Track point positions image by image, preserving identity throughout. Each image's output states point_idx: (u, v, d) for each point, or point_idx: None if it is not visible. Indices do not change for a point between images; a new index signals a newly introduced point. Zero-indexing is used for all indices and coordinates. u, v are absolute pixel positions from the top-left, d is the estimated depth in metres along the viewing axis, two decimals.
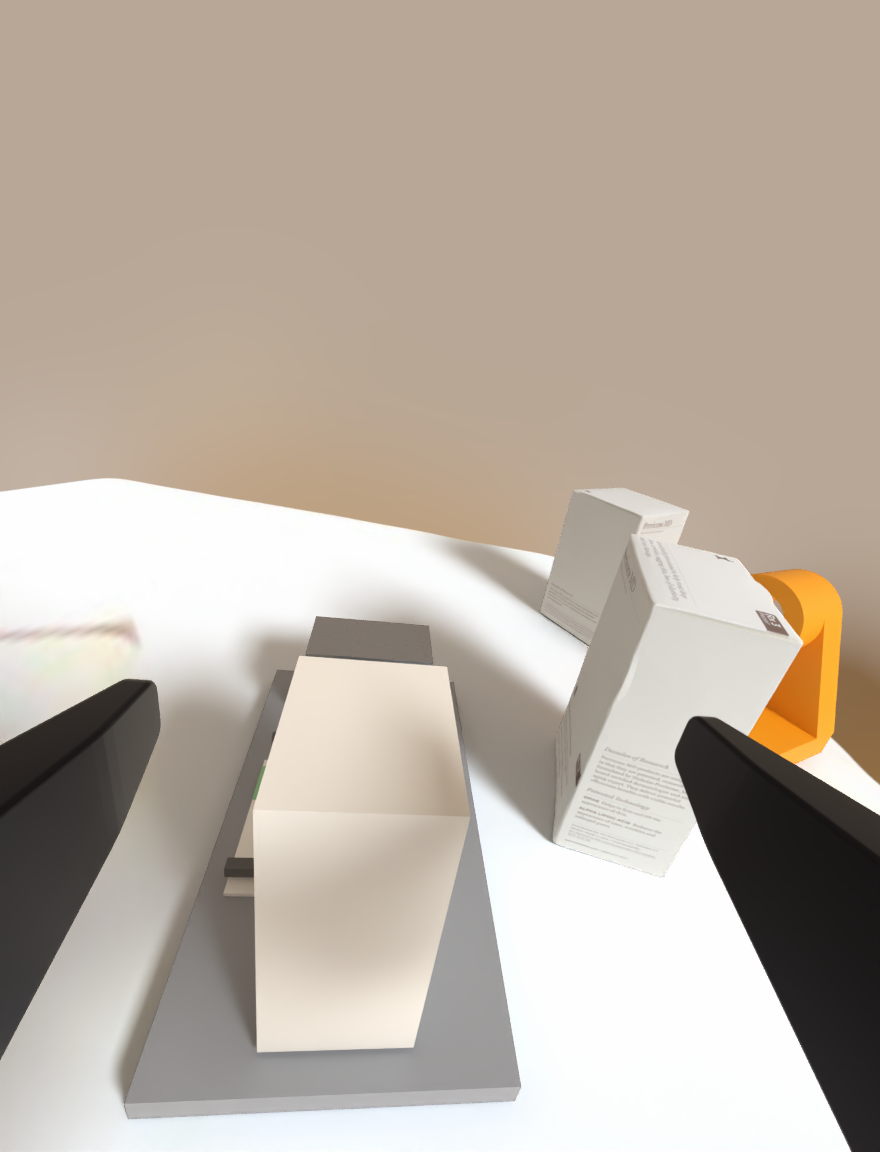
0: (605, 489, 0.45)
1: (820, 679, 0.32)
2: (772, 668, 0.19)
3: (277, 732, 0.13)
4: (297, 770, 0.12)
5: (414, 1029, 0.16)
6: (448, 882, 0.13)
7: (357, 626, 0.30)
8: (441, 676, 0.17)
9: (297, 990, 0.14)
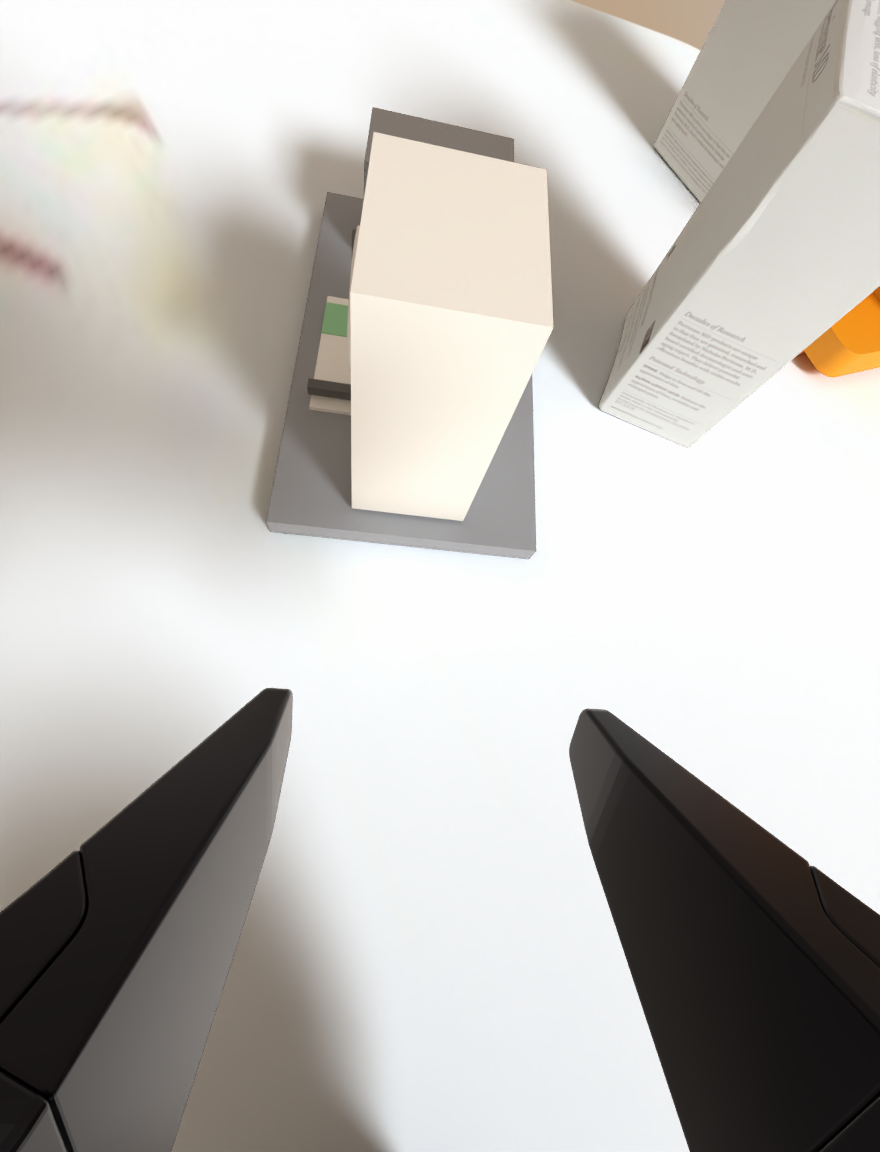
0: None
1: None
2: None
3: (362, 221, 0.13)
4: (387, 262, 0.12)
5: (465, 509, 0.22)
6: (517, 393, 0.15)
7: (424, 129, 0.24)
8: (539, 181, 0.14)
9: (382, 468, 0.19)
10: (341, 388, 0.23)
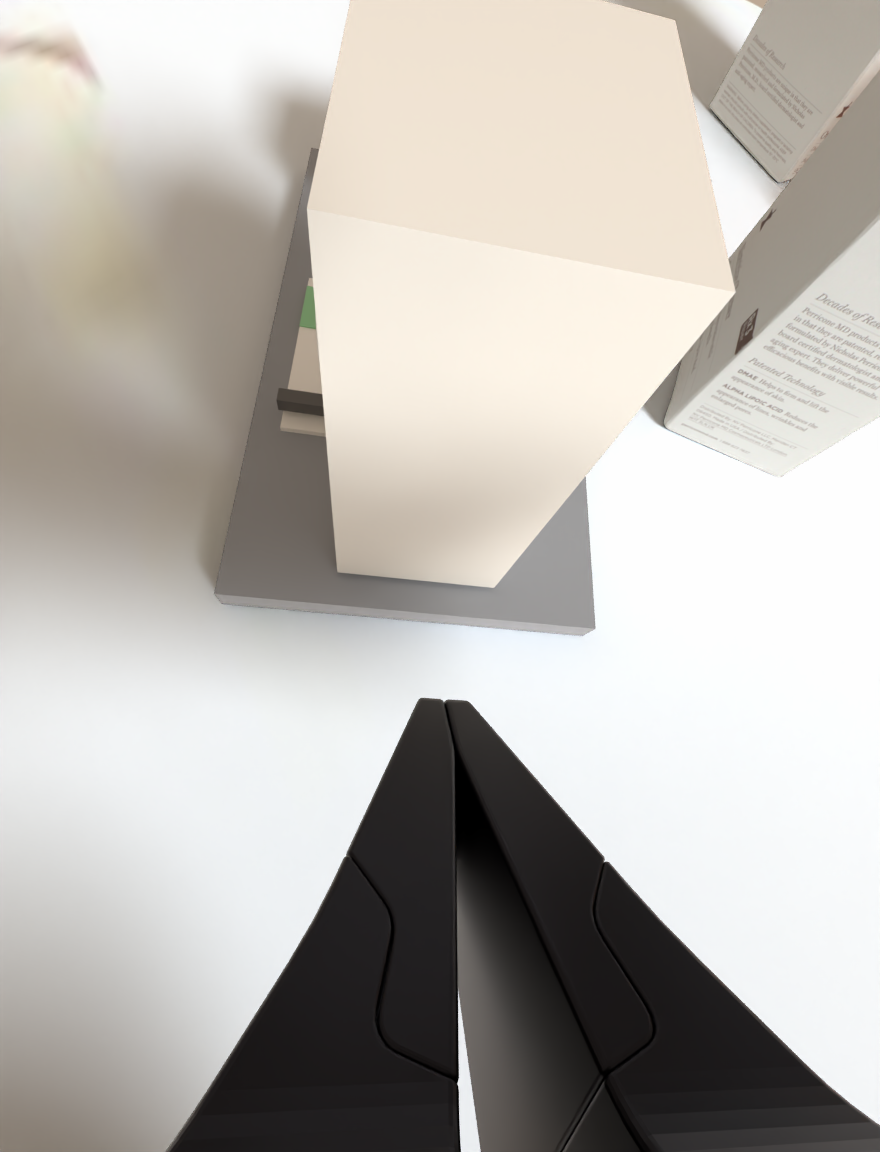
0: None
1: None
2: None
3: (337, 76, 0.06)
4: (389, 154, 0.06)
5: (500, 575, 0.15)
6: (621, 420, 0.08)
7: None
8: (665, 36, 0.08)
9: (381, 526, 0.12)
10: None
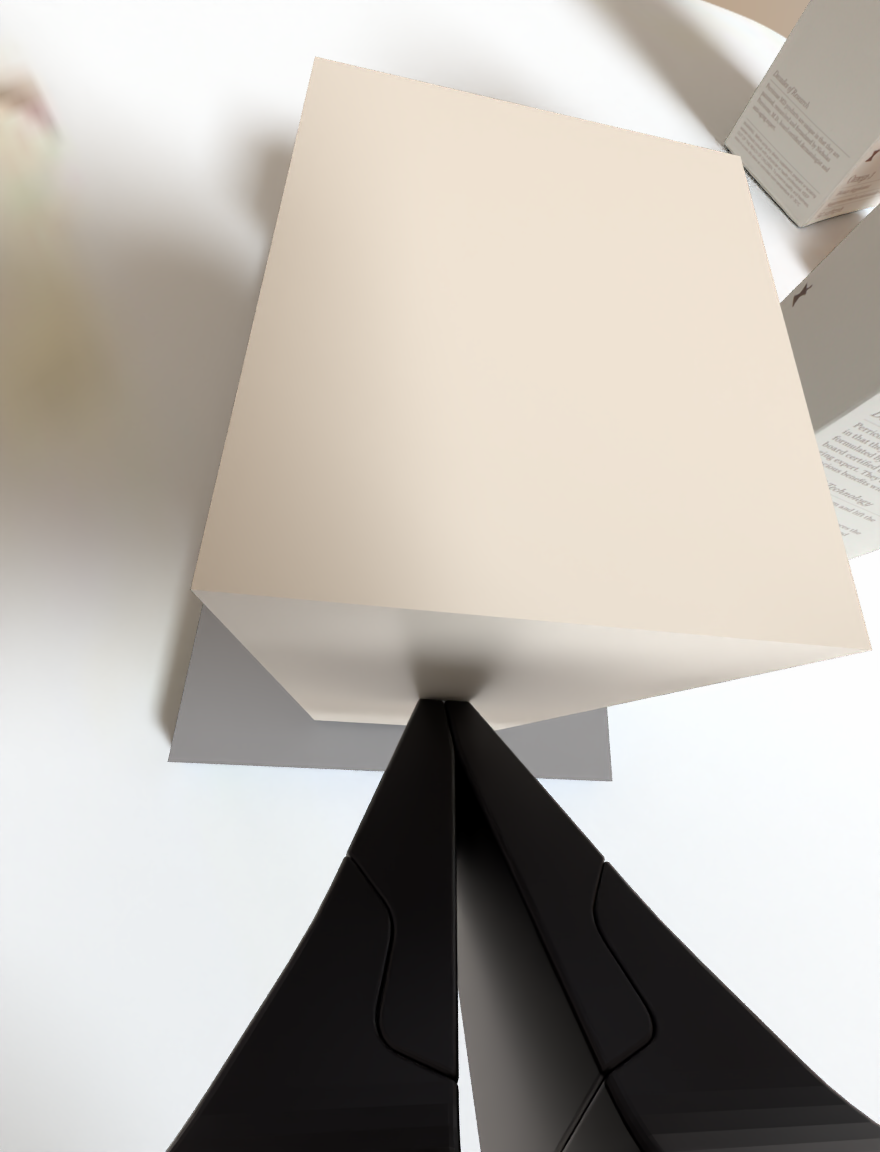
0: None
1: None
2: None
3: (261, 306, 0.04)
4: (337, 451, 0.04)
5: (503, 727, 0.13)
6: (667, 689, 0.06)
7: None
8: (729, 184, 0.06)
9: (359, 710, 0.10)
10: None
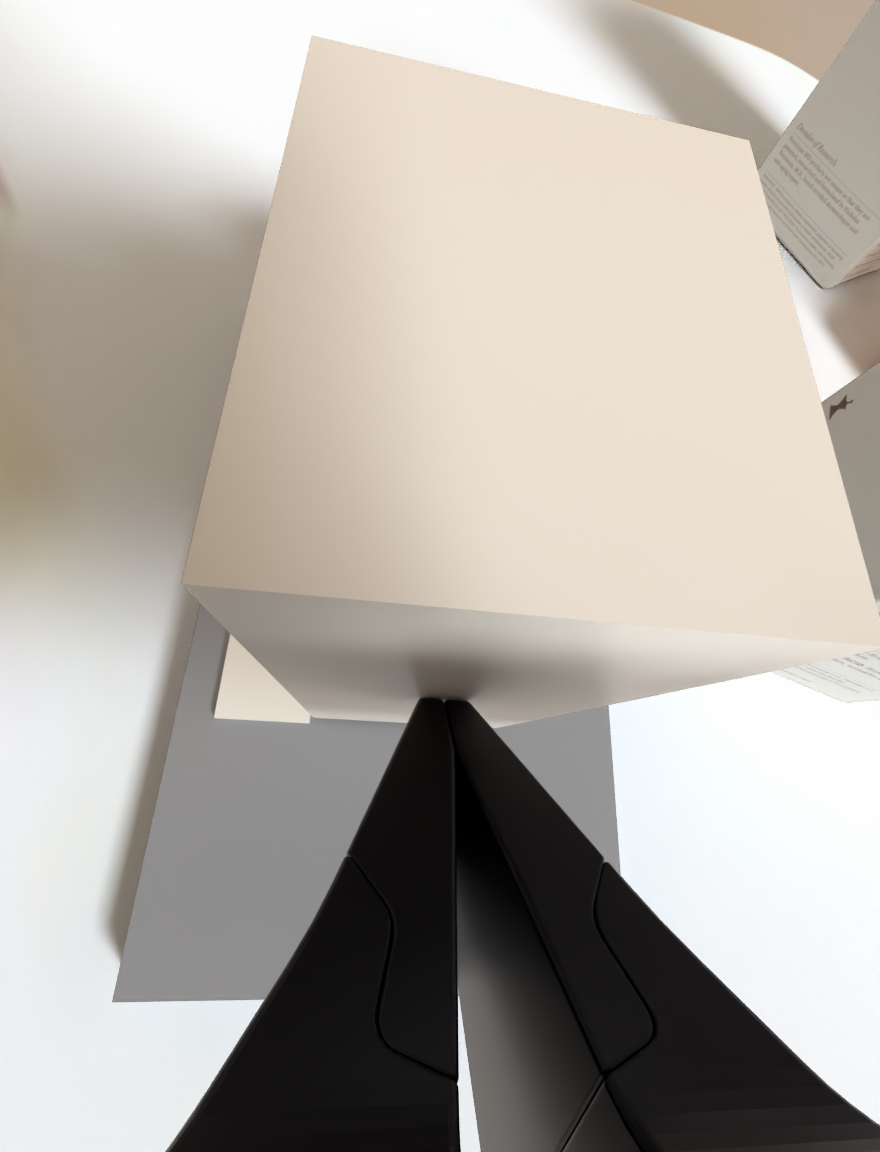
0: None
1: None
2: None
3: (255, 291, 0.04)
4: (333, 441, 0.04)
5: (503, 725, 0.13)
6: (672, 687, 0.06)
7: None
8: (738, 168, 0.06)
9: (359, 708, 0.10)
10: None
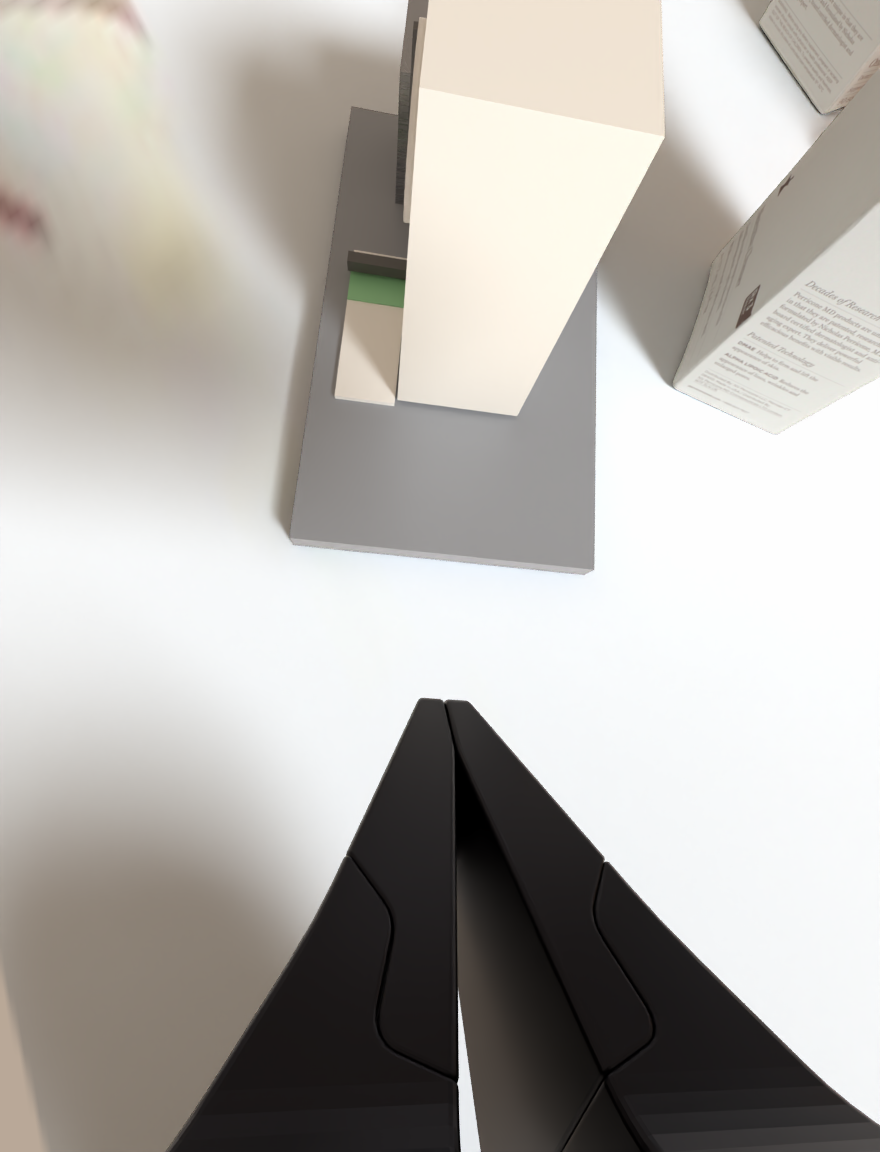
0: None
1: None
2: None
3: None
4: (463, 50, 0.10)
5: (522, 400, 0.20)
6: (604, 239, 0.12)
7: None
8: None
9: (435, 347, 0.17)
10: (385, 262, 0.21)
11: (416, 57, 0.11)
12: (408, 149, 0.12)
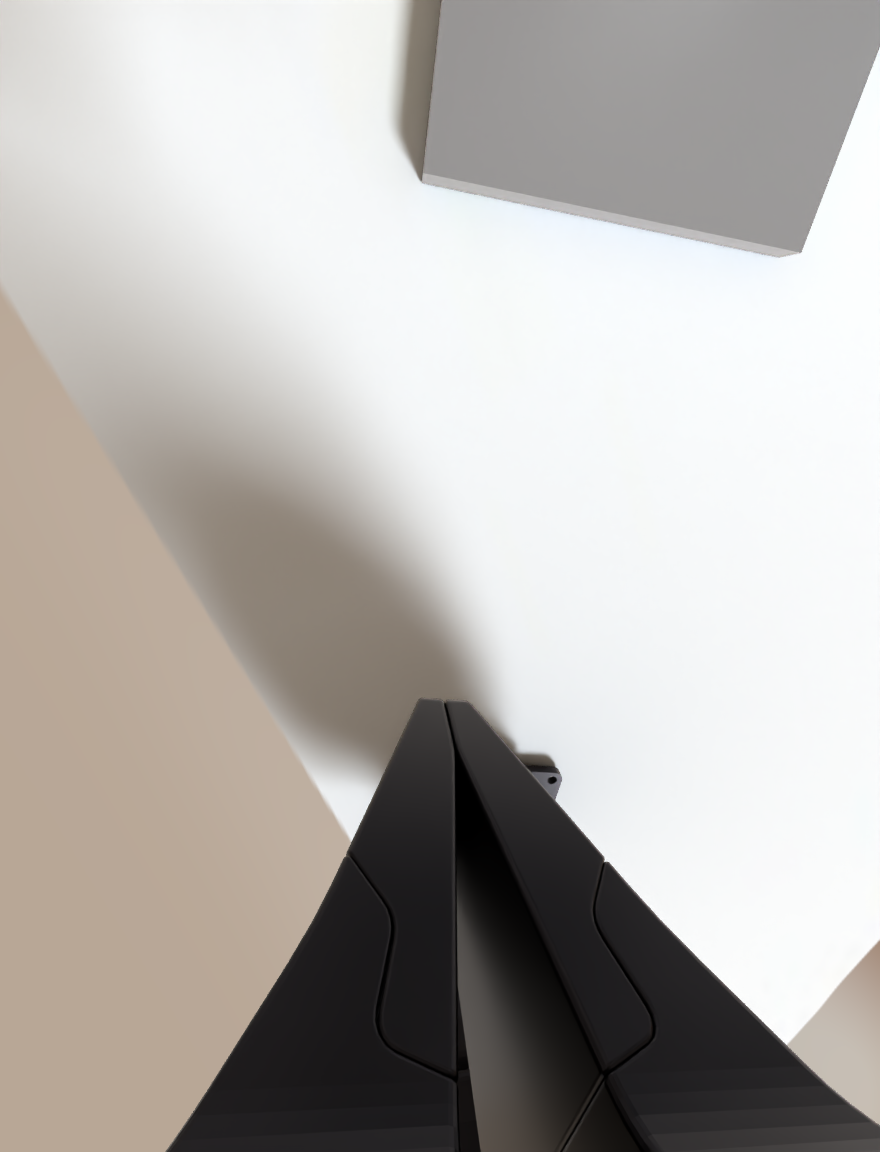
0: None
1: None
2: None
3: None
4: None
5: None
6: None
7: None
8: None
9: None
10: None
11: None
12: None
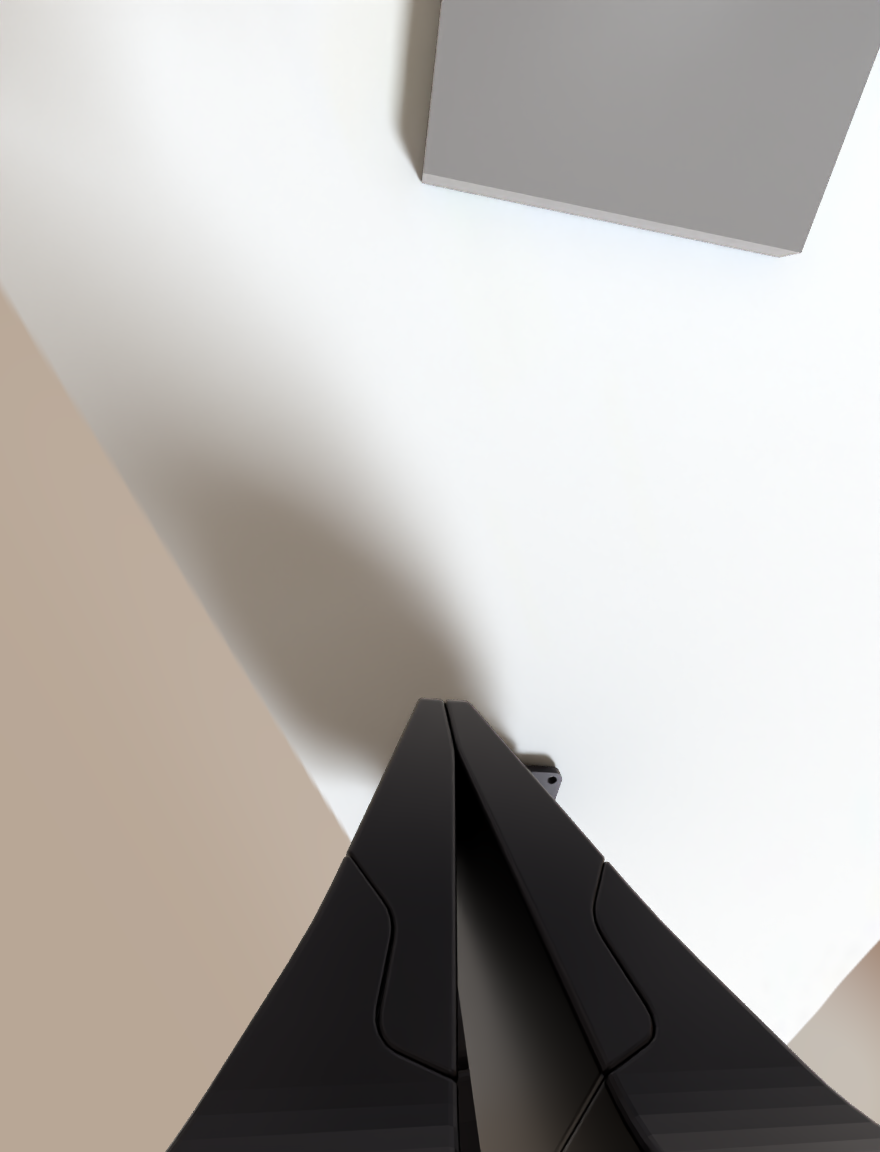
0: None
1: None
2: None
3: None
4: None
5: None
6: None
7: None
8: None
9: None
10: None
11: None
12: None
